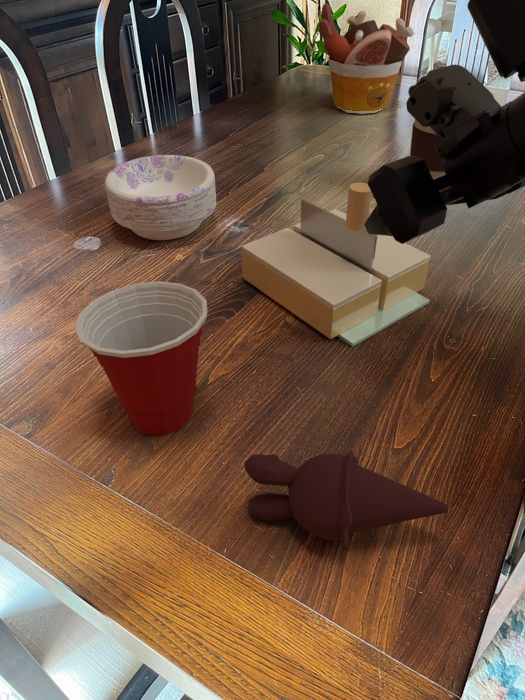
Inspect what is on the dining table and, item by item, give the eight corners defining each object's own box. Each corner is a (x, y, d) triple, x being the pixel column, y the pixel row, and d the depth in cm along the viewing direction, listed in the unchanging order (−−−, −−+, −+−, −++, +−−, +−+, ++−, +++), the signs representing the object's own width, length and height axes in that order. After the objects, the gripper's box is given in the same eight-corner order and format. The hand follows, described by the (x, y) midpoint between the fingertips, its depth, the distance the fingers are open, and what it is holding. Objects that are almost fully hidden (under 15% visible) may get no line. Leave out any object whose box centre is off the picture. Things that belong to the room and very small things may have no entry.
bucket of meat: (404, 99, 129) (419, -1, 116) (401, 121, 117) (416, 12, 104) (320, 94, 133) (325, -3, 120) (307, 115, 121) (311, 9, 108)
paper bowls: (157, 263, 74) (149, 208, 69) (93, 227, 82) (82, 175, 77) (239, 224, 82) (237, 172, 77) (174, 194, 90) (168, 146, 85)
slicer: (377, 275, 63) (389, 193, 57) (363, 283, 62) (373, 199, 56) (307, 236, 71) (311, 159, 64) (293, 242, 70) (295, 164, 63)
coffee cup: (393, 193, 90) (408, 95, 80) (408, 171, 97) (423, 78, 87) (455, 204, 86) (479, 103, 77) (466, 180, 93) (488, 85, 84)
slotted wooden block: (436, 299, 67) (445, 262, 63) (343, 352, 59) (347, 313, 56) (322, 237, 79) (324, 203, 76) (233, 274, 71) (231, 239, 68)
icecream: (448, 438, 42) (254, 422, 45) (457, 503, 35) (229, 479, 38) (440, 511, 44) (258, 491, 48) (447, 583, 38) (236, 554, 41)
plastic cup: (177, 359, 59) (163, 261, 51) (240, 417, 52) (234, 314, 44) (82, 407, 53) (50, 305, 46) (139, 477, 47) (112, 372, 39)
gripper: (553, 20, 46) (423, 123, 60) (405, 54, 37) (293, 165, 51) (610, 141, 46) (468, 215, 60) (476, 203, 38) (346, 274, 51)
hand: (398, 215), depth 56 cm, fingers open, 9 cm apart
